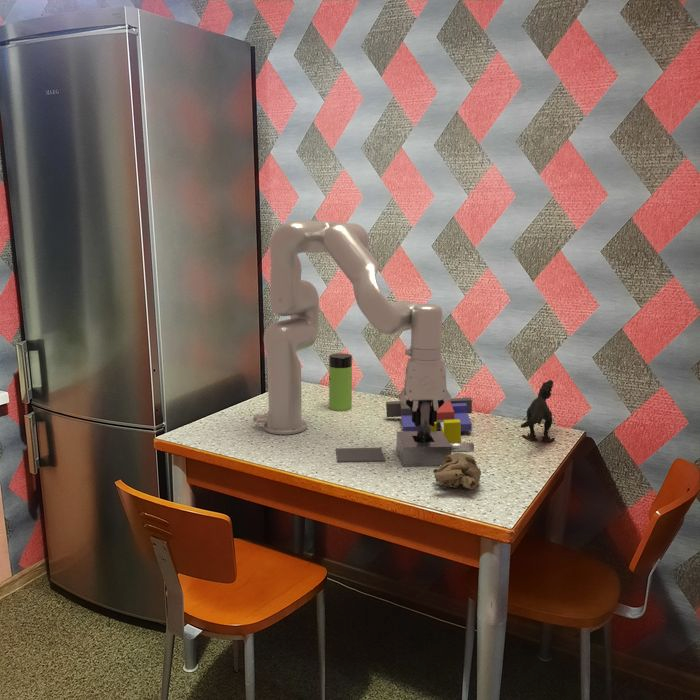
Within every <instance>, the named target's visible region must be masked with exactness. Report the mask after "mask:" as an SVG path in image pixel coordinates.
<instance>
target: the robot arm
mask: <svg viewBox="0 0 700 700" xmlns="http://www.w3.org/2000/svg"><path fill="white" fill-rule="evenodd" d="M369 241H370V240H369V235H368V232H367V231H366V229H365V228H364V227H363V226H362V225H360V224H357V223H354V222H353V223H351V222H349V223H348V222H335V221H334V222H333V221H324V220H293V221H288V222H286V223H283V224H281V225H279V226H278V227H277V228H276V229H275V230H274V232H273V234H272V236H271V239H270V241H269V242H270V243H269V256H270V277H269V278H270V281H269V291H270V292H269V306H270V309H271V311H272V313H273V314H275V316H278V317H279V316H280V317H289V316H290V318H288V319H282V320H277V321H275V322H273V323H272V324H269V326H268V327H267V328H266V329H265V331H264V333H263V345H264V350H265V354H266V361H267V362H266V365H267V392H268V393H267V394H268V397H267V398H268V410H267V413H266V412H265V413H264V414H259V413H258V414H255V413H254V414H253V417H252V419H253V422H256V423H257V424H259V423H263V430H264V431H265V432H266V433H269V434H273V435H282V436H283V435H284V436H285V435H294V434H299V433H302V432H304V431H305V430H307V429H308V423H307V422H306V420H303V419H302V418H303V417H302V416H303V414H302V411H303V409H302V367H301V366H302V365H301V361H300V360H299V357H298V353H297V352H299V351H302V350H306V349H309V348H311V346H313V345H314V343H316V340H317V338H318V337H317V336H318V333H319V332H318V330H319V315H320V314H319V312H320V308H319V307H320V298H319V294H318V290H317V288H316V286H315V285H314V284H313V283H311V282H310V281H308V280H304V279H302V264H301V260H300V258H299V256H298V255H299V254H304V253H327V254H328V255H329V256H330V257H331V258H332V260H333V261H334V262H335V264H336V265H337V266H338V268H339V269H340V270H341V271H342V273H343V274H344V275H345V276H346V278H347V279H348V281H349V282H350V283H351V285H352V289H353V290H352V291H353V294H354V297H355V301H356V304H357V306H358V308H359V310H360V311H361V313H362V314H363V316H364V317H365V318H366V319H367V321H368V322H369V323H370V324H371V326H372V327H373V328H374V329H375V330H377V331H378V332H379V333H380V334H383V335H388V336H389V335H395V334H398V333H400V332H405V331H408V330H409V331H410V347H409V348H408V349H405V350H404V355H405V356H409V357H410V358H408V360H407V362H406V369H405V375H404V386H403V388H402V390H401V391H400V393H399V395H398V397H397V399H398V401H401V402H403V403H405V404H407V405H408V406H409V407H410V408H411V409H412V422H414V424H415V426H416V427H418V426H419V411H418V408H417V406H418V400H432V401H431V403H432V406H431V426H434V422H437V411H438V409H439V408H440V407H441V406H442V405H443V404H444V403H446V402H447V401H449V400H451V398H452V396H451V394H450V392H449V390H448V389H447V388H448V387H447V374H446V373H447V372H446V371H447V370H446V362H445V359H443V358H442V340H443V339H442V335H443V309H442V307H441V306H440V305H438V304H436V303H435V304H433V303H417V302H413V301H409V300H400V301H399V300H398V301H395V302H394V301H393V302H390V301H389V300H388V299H387V297H386V296H385V295H384V293H382V291H381V290H380V287H379V286H378V283H377V273H379V270H380V264H379V262H378V261H377V260H376V259H375V257H374V256H373V255H372V253H371V252H370V251H369V250H368V246H369V243H370V242H369ZM410 400H411V401H410Z"/></svg>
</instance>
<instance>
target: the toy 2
mask: <svg viewBox="0 0 700 700" xmlns="http://www.w3.org/2000/svg"><path fill="white" fill-rule="evenodd" d="M553 385H554V381H553V380H552V379H550V380H548V381H546V382H542V385H541V387H540V389H539V391H538V394H537V397H536V398H535V399H533V401H532V402H531V403H530V406H529V407H528V408H527V411H526V418H527V419H526V421H525V422H523V423H522V424H520V428H522V429H523V428H529V433H527V435H526V434H522V435H521V436H522V438H523V439H527V440H528V441H529V440H530V441H531V440H535V441H536V442H538V439H537V434H536V432H535V428H534V427H535V425H539V426H540V425H541V424H542V421H543V420H544V423H543V424H544V425H543V436H542V437H541V441H540V443H542V442H544V443H546V444H547V443H551V442H553V441H555V440H556V437H552V438H551V436H550V435H549V430H550V428H551V427H552V425H553V413H552V411H551V409H550V407H549V406H548V404H547V401H546V400H548V399H550V398H551V396H552V393H551V392H552V391H553V389H552V388H553Z"/></svg>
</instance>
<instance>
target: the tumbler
mask: <svg viewBox="0 0 700 700" xmlns="http://www.w3.org/2000/svg"><path fill="white" fill-rule="evenodd" d="M328 357H329V358H328V381H329V382H328V384H329V386H328V391H329V392H328V397H329V399H328V400H329V401H328V402H329V403H328V407H329V409H330V410H331V411H336V410H337V412H344V411H343V410H345V411H349V410H351V409H352V406H353V405H352V404H353V401H352V398H353V395H352V393H353V392H352V391H353V389H352V388H353V387H352V386H353V382H352V381H353V380H352V379H353V355H351V354H349V353H343V352H341V353H339V352H338V353H332V354H329V356H328Z"/></svg>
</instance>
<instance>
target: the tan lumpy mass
mask: <svg viewBox="0 0 700 700" xmlns="http://www.w3.org/2000/svg"><path fill="white" fill-rule="evenodd" d="M433 473H434V474H433V475H434V479H435V482H437V483H438V485H440V486H443V485H444V486H445V487H446V488H454V489H457V488H466V489H469V490H473V489H474V490H475V489H476V487H477V486H478V485H479V483H480V480H481V476H482V471H481V467H478V464H477V461H476V460H475V459H474V458H473V456H471V455H470V454H467V453H463V452H454V453H451V455H448V456H446V457H445V459H444V461H443V462H442V464H441V466H438V468H434V469H433Z"/></svg>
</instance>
